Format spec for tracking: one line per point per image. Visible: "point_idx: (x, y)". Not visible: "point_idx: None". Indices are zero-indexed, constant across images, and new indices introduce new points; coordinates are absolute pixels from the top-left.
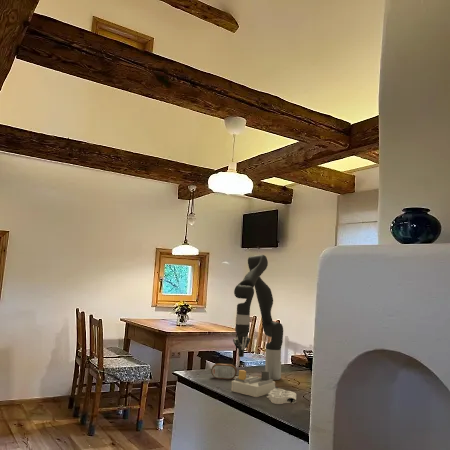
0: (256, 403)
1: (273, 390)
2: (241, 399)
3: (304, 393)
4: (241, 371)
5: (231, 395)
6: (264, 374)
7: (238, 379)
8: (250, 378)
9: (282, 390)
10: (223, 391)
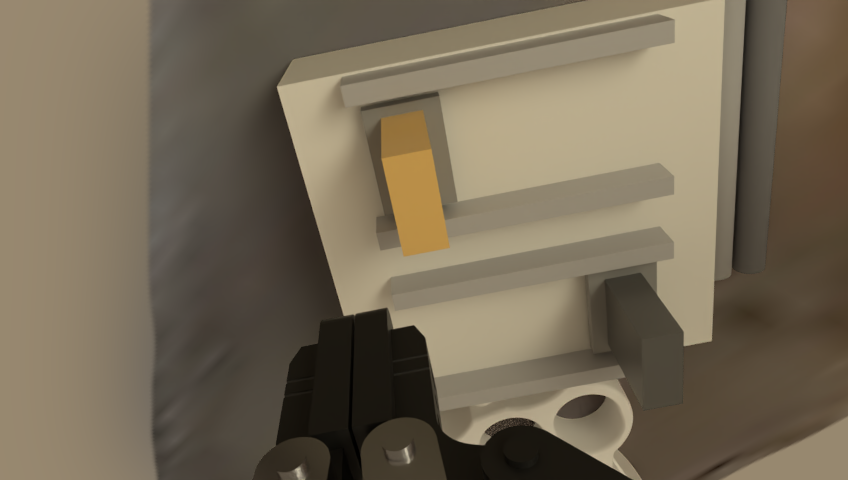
0: (245, 453)
1: (526, 418)
2: (198, 334)
3: (800, 427)
4: (392, 202)
5: (186, 197)
6: (628, 355)
7: (366, 131)
8: (492, 228)
9: (620, 421)
10: (194, 23)
